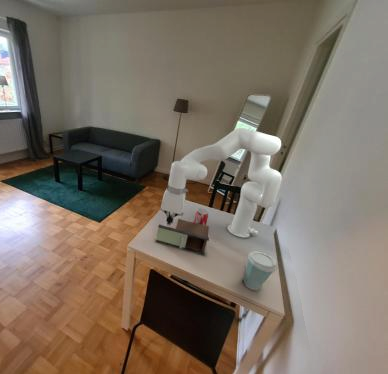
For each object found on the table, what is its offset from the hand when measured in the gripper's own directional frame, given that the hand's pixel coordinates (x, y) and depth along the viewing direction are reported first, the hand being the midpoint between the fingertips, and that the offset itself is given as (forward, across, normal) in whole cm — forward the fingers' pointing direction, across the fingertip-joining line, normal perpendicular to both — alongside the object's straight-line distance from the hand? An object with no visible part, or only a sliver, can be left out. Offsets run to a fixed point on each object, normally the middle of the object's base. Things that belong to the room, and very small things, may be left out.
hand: (169, 223), depth 102 cm
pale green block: (+14, -2, -2) cm, 14 cm away
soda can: (+15, -15, -25) cm, 33 cm away
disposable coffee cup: (+15, -40, +7) cm, 44 cm away
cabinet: (+15, -7, -8) cm, 18 cm away
